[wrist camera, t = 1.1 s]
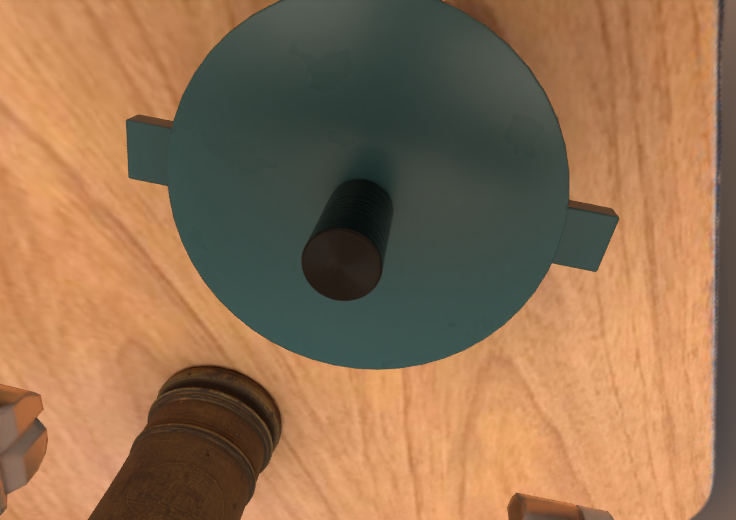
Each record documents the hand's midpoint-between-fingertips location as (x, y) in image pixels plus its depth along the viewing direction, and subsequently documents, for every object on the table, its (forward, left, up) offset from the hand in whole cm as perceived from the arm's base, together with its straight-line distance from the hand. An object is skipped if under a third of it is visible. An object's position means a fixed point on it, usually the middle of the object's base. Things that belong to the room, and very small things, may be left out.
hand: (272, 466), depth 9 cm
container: (+22, -8, -22) cm, 32 cm away
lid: (0, 0, -12) cm, 12 cm away
